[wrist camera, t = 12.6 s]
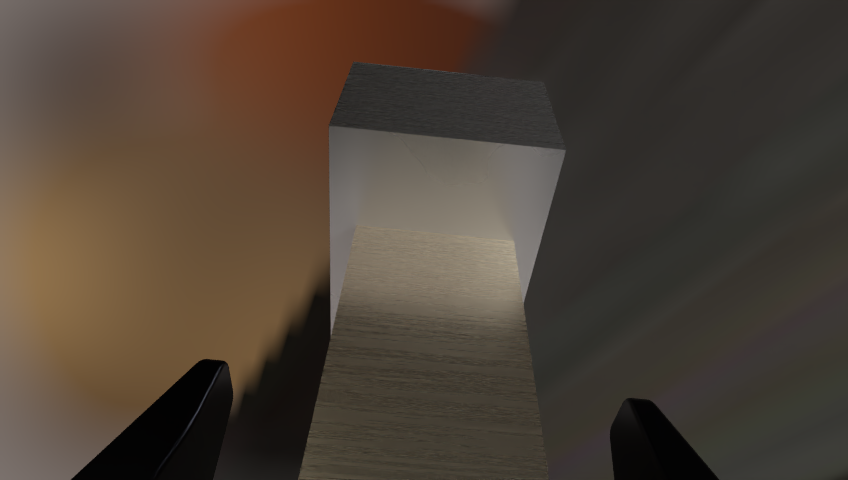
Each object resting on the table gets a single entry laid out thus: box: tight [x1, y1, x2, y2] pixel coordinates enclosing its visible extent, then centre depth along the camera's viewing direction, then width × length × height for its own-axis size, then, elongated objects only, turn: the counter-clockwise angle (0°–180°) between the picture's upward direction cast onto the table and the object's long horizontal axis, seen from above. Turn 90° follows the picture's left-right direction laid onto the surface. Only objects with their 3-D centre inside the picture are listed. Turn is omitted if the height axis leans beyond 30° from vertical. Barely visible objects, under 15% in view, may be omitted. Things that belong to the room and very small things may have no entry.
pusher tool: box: [299, 62, 566, 480], centre depth 10 cm, size 4×7×10 cm, turn 175°
